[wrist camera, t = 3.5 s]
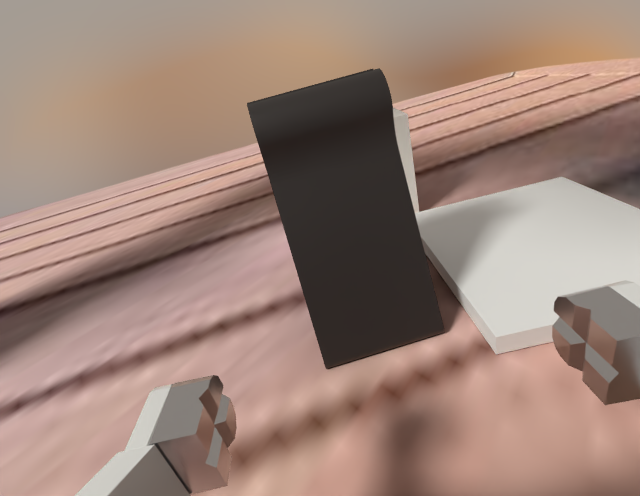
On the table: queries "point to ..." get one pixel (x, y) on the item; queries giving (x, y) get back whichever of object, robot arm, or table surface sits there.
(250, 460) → the table surface
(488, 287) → the grey mat
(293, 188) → the phone stand
